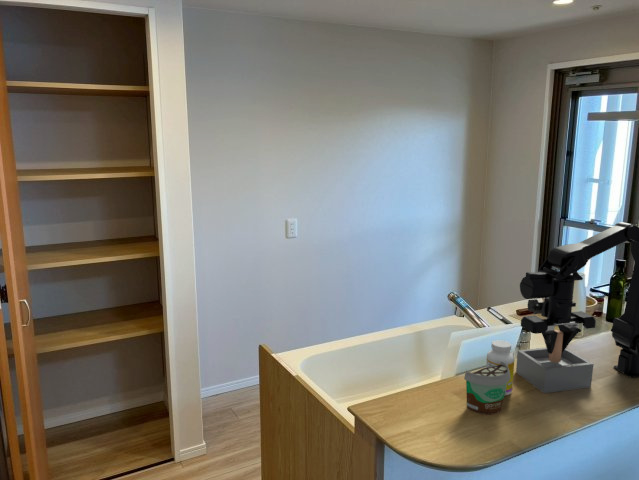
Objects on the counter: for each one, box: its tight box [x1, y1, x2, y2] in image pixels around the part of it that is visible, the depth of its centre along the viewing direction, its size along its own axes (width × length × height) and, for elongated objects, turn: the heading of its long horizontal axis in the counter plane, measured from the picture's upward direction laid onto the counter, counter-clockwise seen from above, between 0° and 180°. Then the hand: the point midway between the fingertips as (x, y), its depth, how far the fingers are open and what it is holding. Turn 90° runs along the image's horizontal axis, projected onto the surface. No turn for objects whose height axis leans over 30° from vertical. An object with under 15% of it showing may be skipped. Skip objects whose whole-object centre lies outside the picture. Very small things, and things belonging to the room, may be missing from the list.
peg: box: [548, 329, 563, 363], centre depth 136 cm, size 3×3×8 cm
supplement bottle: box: [485, 339, 515, 397], centre depth 131 cm, size 7×7×13 cm
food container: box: [464, 361, 510, 415], centre depth 122 cm, size 12×6×10 cm, turn 117°
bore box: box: [515, 346, 594, 394], centre depth 138 cm, size 14×12×6 cm
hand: (555, 352), depth 137 cm, fingers closed on peg, 3 cm apart
